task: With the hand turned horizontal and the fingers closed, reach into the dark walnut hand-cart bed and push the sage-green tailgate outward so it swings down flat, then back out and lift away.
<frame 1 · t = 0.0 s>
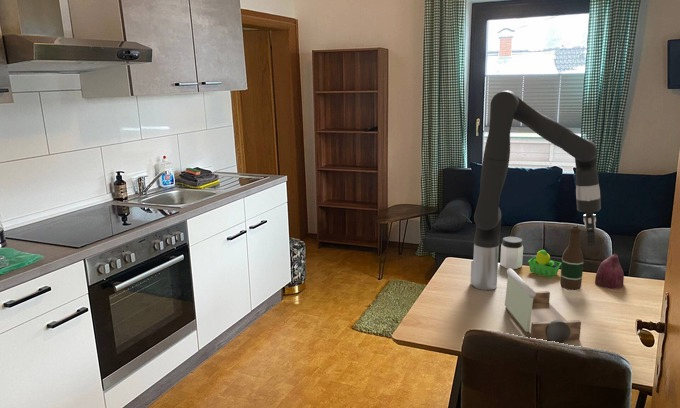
hand: (591, 241, 179), 22 cm above the table, tool pointing down, fingers open, 8 cm apart
fruit basket: (543, 274, 209), on the table
tailgate: (518, 298, 166), point 9 cm above the table, hinge at -3.0°
vegetable: (608, 284, 197), on the table
cart bed: (544, 322, 168), on the table
beer bottle: (570, 287, 196), on the table
jar: (510, 266, 219), on the table
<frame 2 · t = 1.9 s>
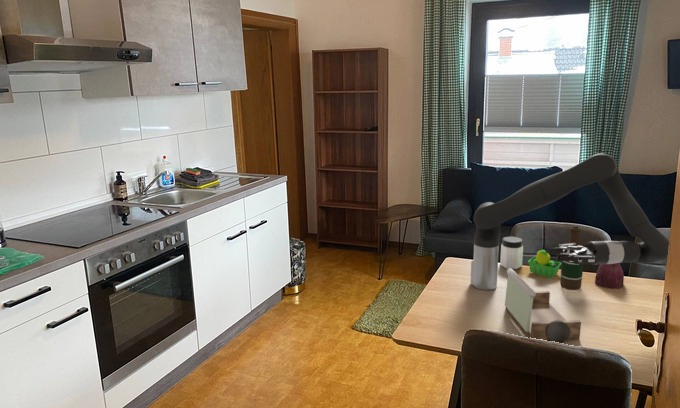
hand: (553, 254, 162), 24 cm above the table, tool horizontal, fingers open, 5 cm apart
nothing on the table moved.
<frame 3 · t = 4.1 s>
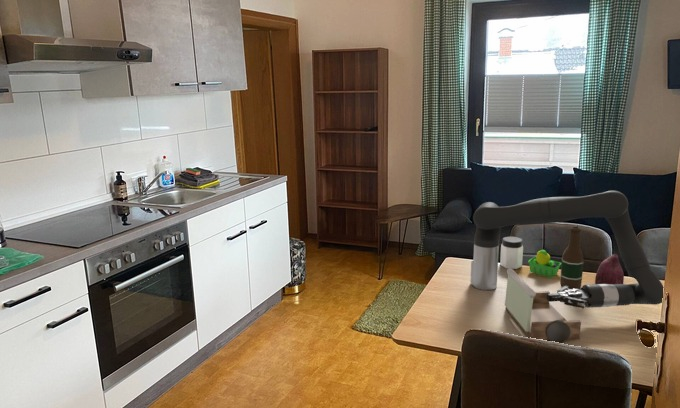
hand: (547, 297, 166), 9 cm above the table, tool horizontal, fingers closed
nothing on the table moved.
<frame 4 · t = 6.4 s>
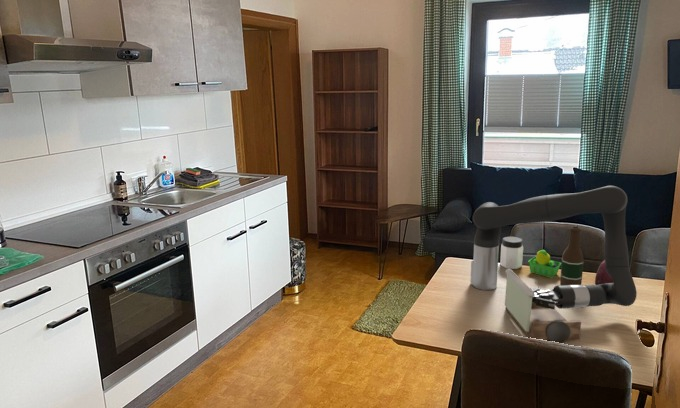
hand: (519, 298, 166), 9 cm above the table, tool horizontal, fingers closed
tailgate: (517, 298, 166), point 9 cm above the table, hinge at -1.1°, touching gripper
everything else where it was.
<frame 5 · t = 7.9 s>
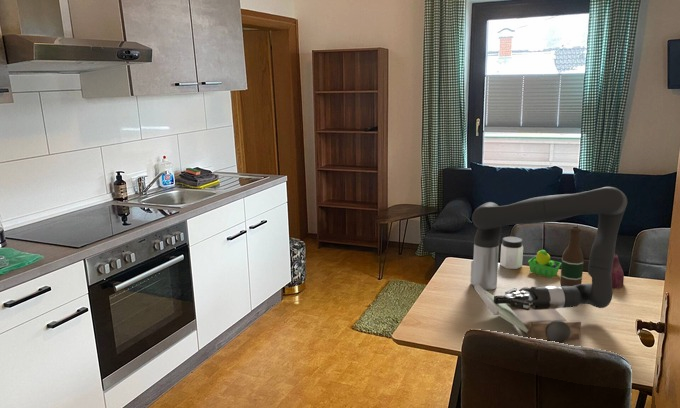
hand: (494, 299, 165), 9 cm above the table, tool horizontal, fingers closed
tailgate: (500, 307, 166), point 6 cm above the table, hinge at 55.4°, touching gripper
everything else where it was.
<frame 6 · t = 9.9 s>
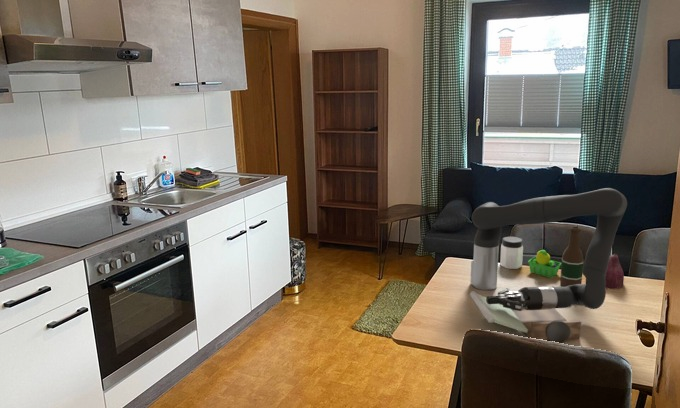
hand: (487, 300, 165), 9 cm above the table, tool horizontal, fingers closed
tailgate: (497, 311, 166), point 5 cm above the table, hinge at 68.5°
everything else where it was.
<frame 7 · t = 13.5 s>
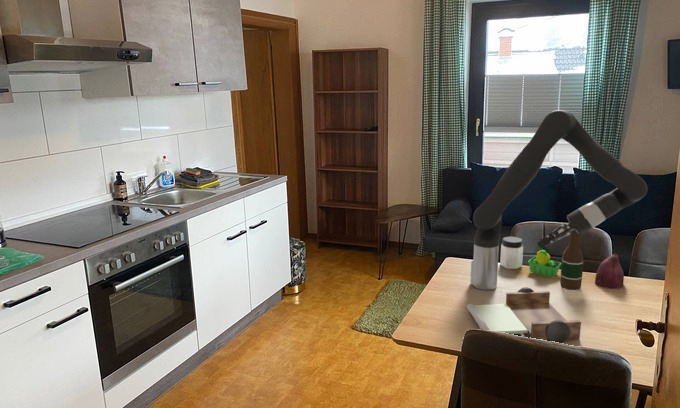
hand: (538, 245, 169), 25 cm above the table, tool tilted 55°, fingers closed
tailgate: (495, 318, 167), point 2 cm above the table, hinge at 90.1°
everything else where it was.
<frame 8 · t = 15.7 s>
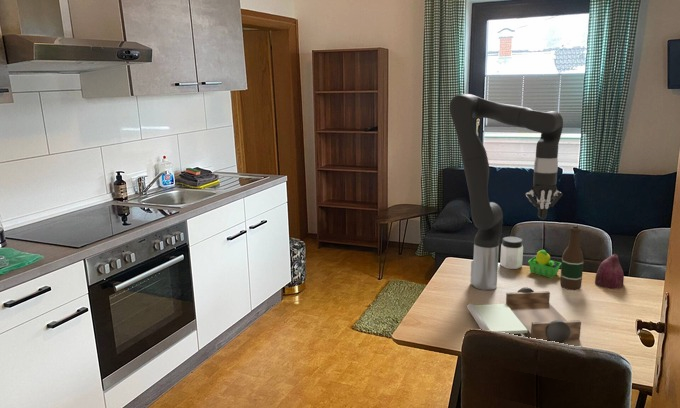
hand: (542, 218, 178), 31 cm above the table, tool pointing down, fingers closed
nothing on the table moved.
at the end: tailgate at +90° (first picture: -3°) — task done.
